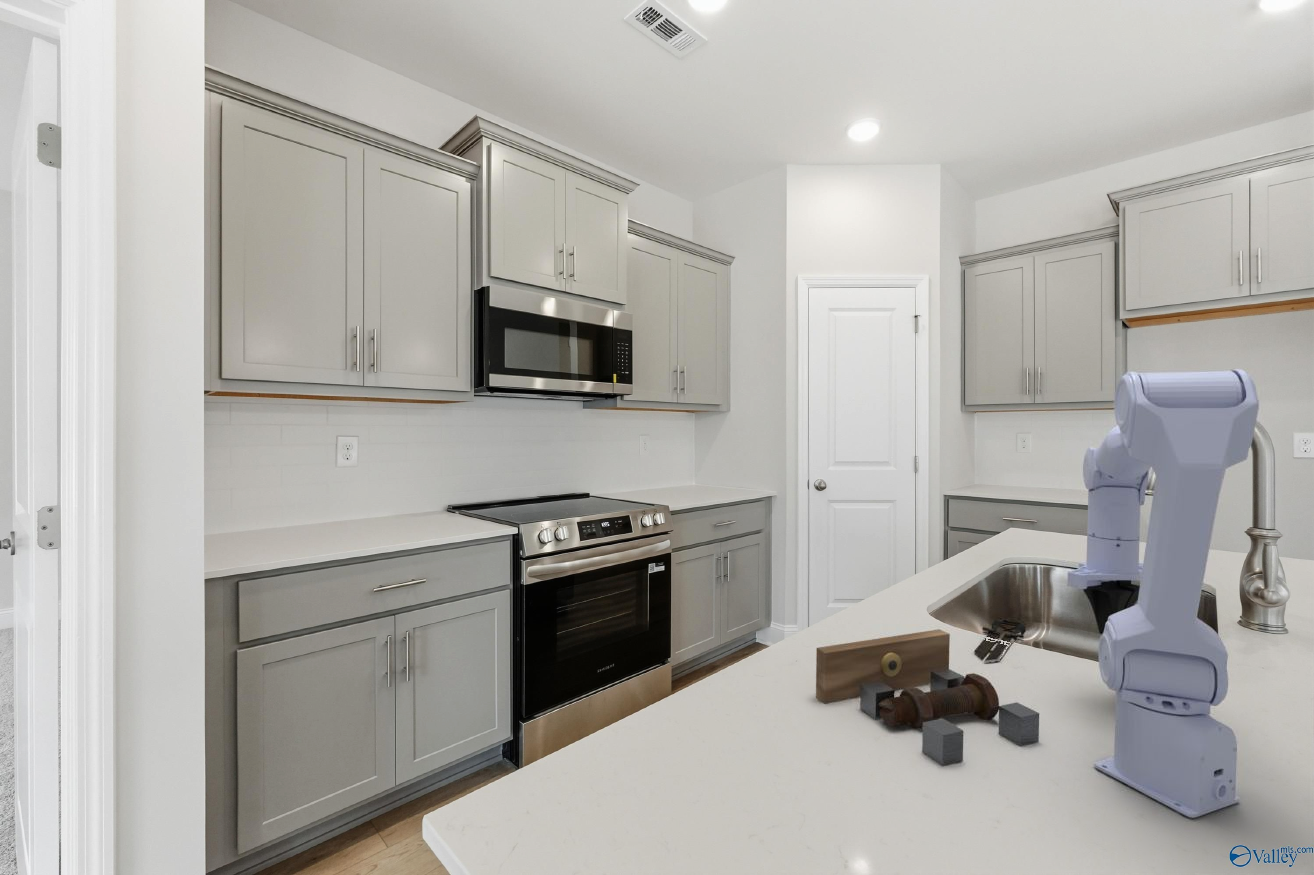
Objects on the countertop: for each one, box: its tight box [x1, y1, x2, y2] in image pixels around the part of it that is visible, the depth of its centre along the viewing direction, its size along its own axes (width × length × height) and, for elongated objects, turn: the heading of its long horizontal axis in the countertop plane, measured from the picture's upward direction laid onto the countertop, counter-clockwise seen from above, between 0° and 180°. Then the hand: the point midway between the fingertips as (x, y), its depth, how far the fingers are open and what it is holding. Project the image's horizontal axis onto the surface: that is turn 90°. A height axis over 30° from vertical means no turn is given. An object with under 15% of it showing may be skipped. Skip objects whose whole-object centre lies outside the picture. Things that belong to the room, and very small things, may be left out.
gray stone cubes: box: [859, 668, 1040, 767], centre depth 77 cm, size 14×15×4 cm
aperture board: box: [815, 629, 951, 705], centre depth 87 cm, size 3×22×7 cm, turn 110°
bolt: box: [879, 673, 1000, 729], centre depth 78 cm, size 6×5×15 cm
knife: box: [973, 617, 1027, 664], centre depth 106 cm, size 25×6×1 cm, turn 135°
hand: (1110, 635), depth 83 cm, fingers closed
